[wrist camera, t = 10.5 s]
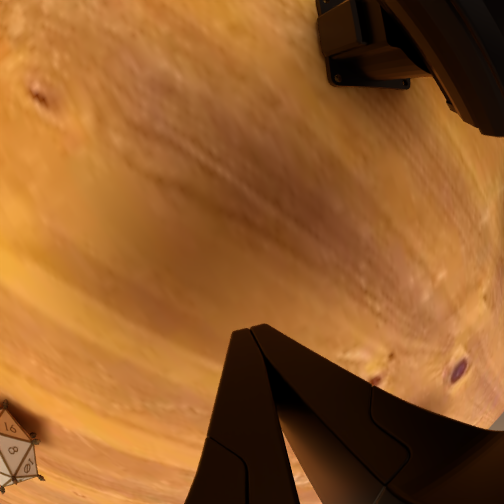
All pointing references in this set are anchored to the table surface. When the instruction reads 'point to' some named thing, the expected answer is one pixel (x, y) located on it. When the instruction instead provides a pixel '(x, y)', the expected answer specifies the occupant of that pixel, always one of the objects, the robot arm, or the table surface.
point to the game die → (16, 451)
